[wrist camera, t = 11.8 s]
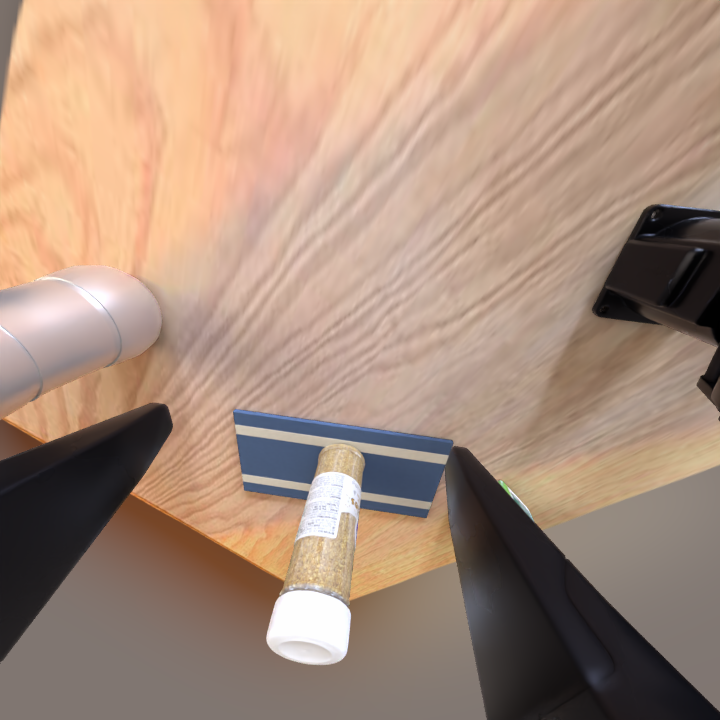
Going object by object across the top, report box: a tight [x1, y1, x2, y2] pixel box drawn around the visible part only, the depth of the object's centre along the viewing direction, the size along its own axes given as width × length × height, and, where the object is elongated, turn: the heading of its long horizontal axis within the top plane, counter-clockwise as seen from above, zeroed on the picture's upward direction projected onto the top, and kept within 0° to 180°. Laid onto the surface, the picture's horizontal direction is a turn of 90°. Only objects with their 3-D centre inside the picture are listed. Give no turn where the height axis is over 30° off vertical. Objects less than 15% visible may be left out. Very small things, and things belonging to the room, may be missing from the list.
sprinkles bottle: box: [267, 444, 365, 665], centre depth 21 cm, size 5×5×13 cm
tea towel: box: [233, 409, 453, 518], centre depth 28 cm, size 20×11×1 cm, turn 84°
